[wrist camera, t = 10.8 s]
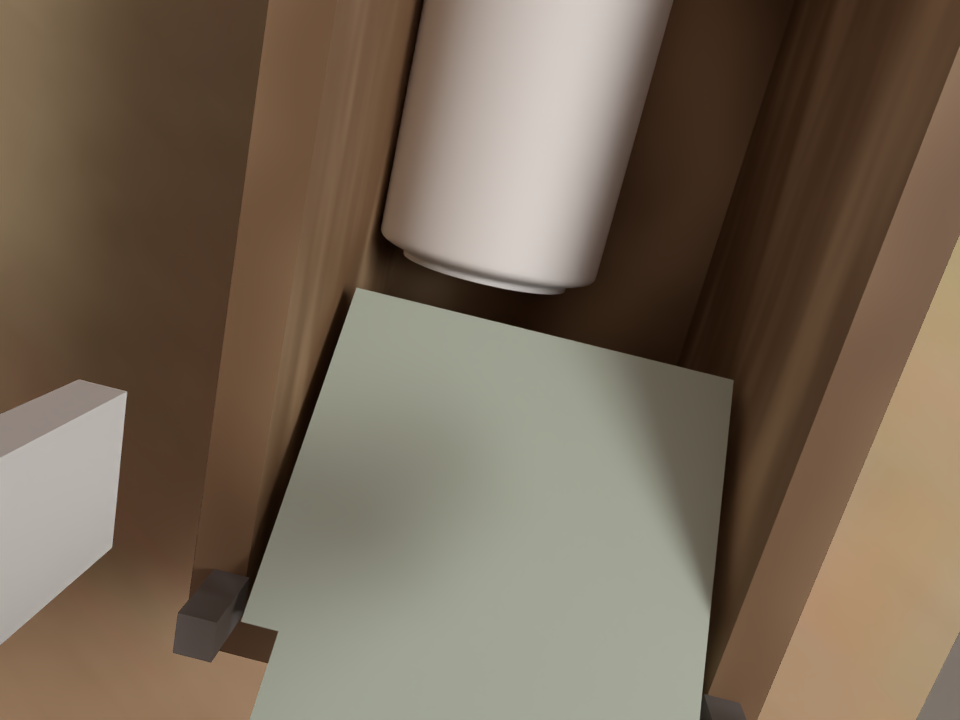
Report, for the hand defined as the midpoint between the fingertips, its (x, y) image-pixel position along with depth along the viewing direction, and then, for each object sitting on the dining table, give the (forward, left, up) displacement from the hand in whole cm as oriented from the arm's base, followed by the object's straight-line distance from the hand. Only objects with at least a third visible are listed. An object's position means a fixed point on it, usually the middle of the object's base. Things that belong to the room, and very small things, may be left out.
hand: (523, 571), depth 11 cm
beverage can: (-2, +2, -16) cm, 17 cm away
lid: (0, -7, -7) cm, 10 cm away
